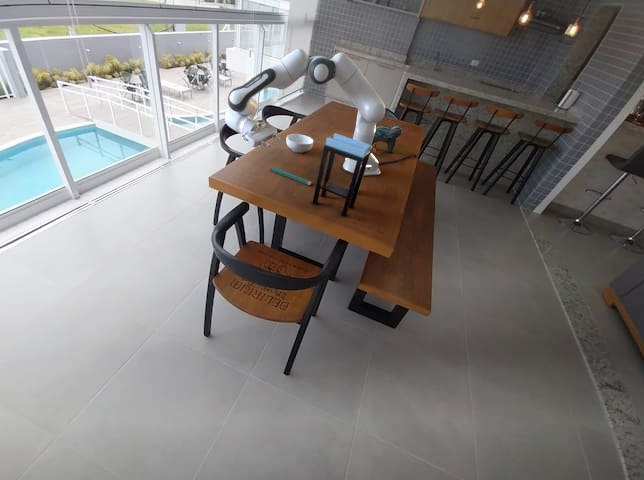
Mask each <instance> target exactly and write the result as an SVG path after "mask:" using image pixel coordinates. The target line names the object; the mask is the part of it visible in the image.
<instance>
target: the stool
mask: <svg viewBox="0 0 644 480" xmlns="http://www.w3.org/2000/svg"><path fill="white" fill-rule="evenodd" d="M370 153H371V152H370ZM370 153H368V154H367V155H366V156H365V157H364V158H362V157H359V156H356V155H354V154H351V153H348V152H345V151H342V150H339V149H336V148H333V147H331V146H328V145H326V144H325V145H324V146H323V149H322V154H321V159H320V164H319V169H318V174H317V179H316V183H315V187H314V188H315V189H314V193H313V200H312V204H314V205H317V204H318V203H319V198H320V197H323V198H325V197H326V196H327V192H328V193H331V194H333V195H336V196H338V197H340V198H343V199H345V201H344V205H343V208H342V212H341V216H343V217H346V216H347V215H348V211H349V208H350V209H353V208H354V207H355V205H356V201H357V198H358V195H359V193H358V192H360V189H361V186H362V183H361V182H363V180H362V179H364V176H363V175H364V172H365V169H366V166H367V162H368V159H369V156H370ZM336 155H339V156H341V157H344V158H349V159H352V160H355V161H357V162H356V166H355V169H354V173H352V176H351V179H352V180H351V179H350V183H349V186H350V187H349V186H348V188H346V187H345V186H341V185H339V184H336V183H333V182H331V181H330V180H331V174H332V170H333V166H334V162H335V158H336ZM328 156H329V157H328ZM327 160H328V161H327ZM362 161H363V162H362ZM326 164H327V165H326ZM361 164H362V165H361ZM326 166H327V167H326ZM325 169H326V171H325ZM359 171H360V172H359ZM358 174H359V175H358ZM324 175H325V176H324ZM356 181H357V182H356ZM322 183H323V185H322ZM360 185H361V186H360ZM354 188H355V189H354ZM359 188H360V189H359ZM320 193H321V194H320Z"/></svg>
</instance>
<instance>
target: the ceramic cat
mask: <svg viewBox="0 0 644 480" xmlns="http://www.w3.org/2000/svg"><path fill="white" fill-rule="evenodd" d="M388 122H389V123H391V122H393V124H392V126H387V125H386V124H384V123H378V124H377V123H376V128H375V135H374V138H373V141H372V146H374V144H375V143H377V142H383V143H385V144H387V148H386V153H388V154H393V151H394V149H395V146H396V141H397V138H398V137H400V136H401V134H402V124H399V125H395V121H394V120H393V119H390V120H389V121H388Z"/></svg>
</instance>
